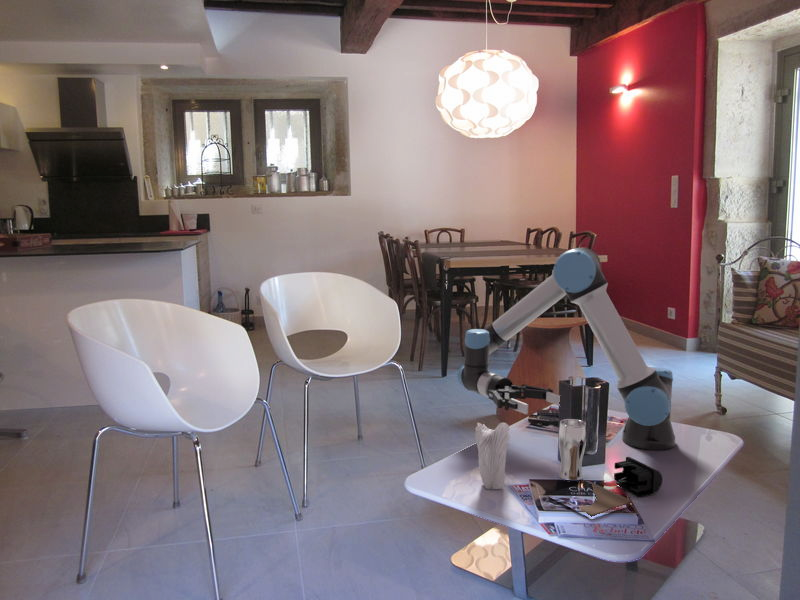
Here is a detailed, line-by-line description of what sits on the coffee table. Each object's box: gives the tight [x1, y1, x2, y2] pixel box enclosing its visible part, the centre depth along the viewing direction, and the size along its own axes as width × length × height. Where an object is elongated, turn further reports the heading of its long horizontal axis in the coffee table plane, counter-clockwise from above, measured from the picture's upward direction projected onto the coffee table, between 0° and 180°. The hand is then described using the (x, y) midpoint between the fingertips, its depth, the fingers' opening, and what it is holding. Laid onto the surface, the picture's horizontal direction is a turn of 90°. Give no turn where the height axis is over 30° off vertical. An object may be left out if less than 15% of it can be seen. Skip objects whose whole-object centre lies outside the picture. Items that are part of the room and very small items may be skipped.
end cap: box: [613, 456, 663, 499], centre depth 171 cm, size 10×7×7 cm
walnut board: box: [579, 480, 633, 517], centre depth 164 cm, size 14×14×1 cm
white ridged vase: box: [474, 422, 510, 490], centre depth 171 cm, size 8×8×18 cm
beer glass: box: [558, 418, 587, 480], centre depth 177 cm, size 7×7×15 cm
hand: (545, 405), depth 184 cm, fingers open, 13 cm apart
